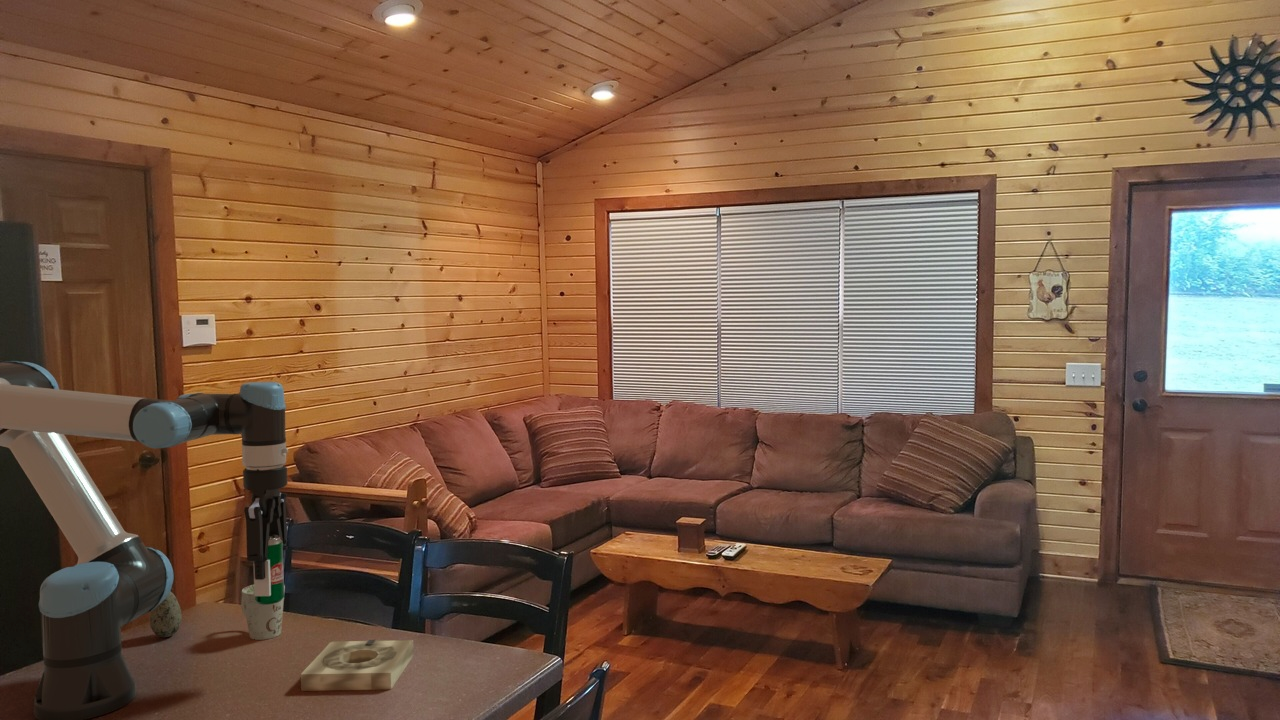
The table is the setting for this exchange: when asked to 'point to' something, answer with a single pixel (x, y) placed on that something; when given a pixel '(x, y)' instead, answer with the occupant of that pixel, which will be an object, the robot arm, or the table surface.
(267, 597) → the soda can
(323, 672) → the hub block
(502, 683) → the table surface
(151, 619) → the decorative egg
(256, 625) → the mug
